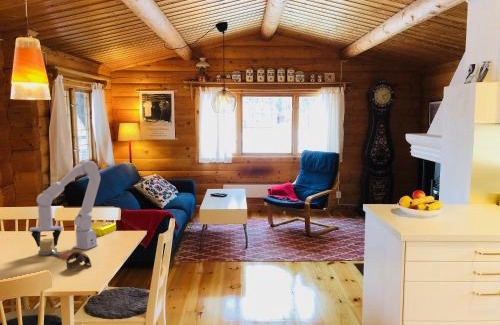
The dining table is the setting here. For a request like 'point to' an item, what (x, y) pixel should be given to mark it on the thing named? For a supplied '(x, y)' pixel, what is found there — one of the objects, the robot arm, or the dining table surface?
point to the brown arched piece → (77, 259)
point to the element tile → (103, 227)
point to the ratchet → (55, 254)
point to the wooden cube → (47, 245)
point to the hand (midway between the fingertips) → (47, 245)
